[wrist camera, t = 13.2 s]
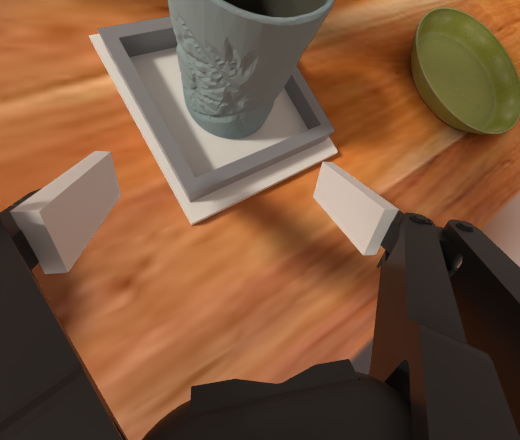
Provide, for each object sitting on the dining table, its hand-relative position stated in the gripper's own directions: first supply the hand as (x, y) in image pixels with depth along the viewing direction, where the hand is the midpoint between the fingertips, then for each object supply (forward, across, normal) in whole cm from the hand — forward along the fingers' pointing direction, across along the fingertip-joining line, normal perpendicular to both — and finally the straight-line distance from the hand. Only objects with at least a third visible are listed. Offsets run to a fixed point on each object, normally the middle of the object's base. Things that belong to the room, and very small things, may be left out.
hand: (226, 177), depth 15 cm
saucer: (+21, +36, +8) cm, 43 cm away
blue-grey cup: (+13, +1, +3) cm, 13 cm away
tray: (+13, +1, +3) cm, 14 cm away
